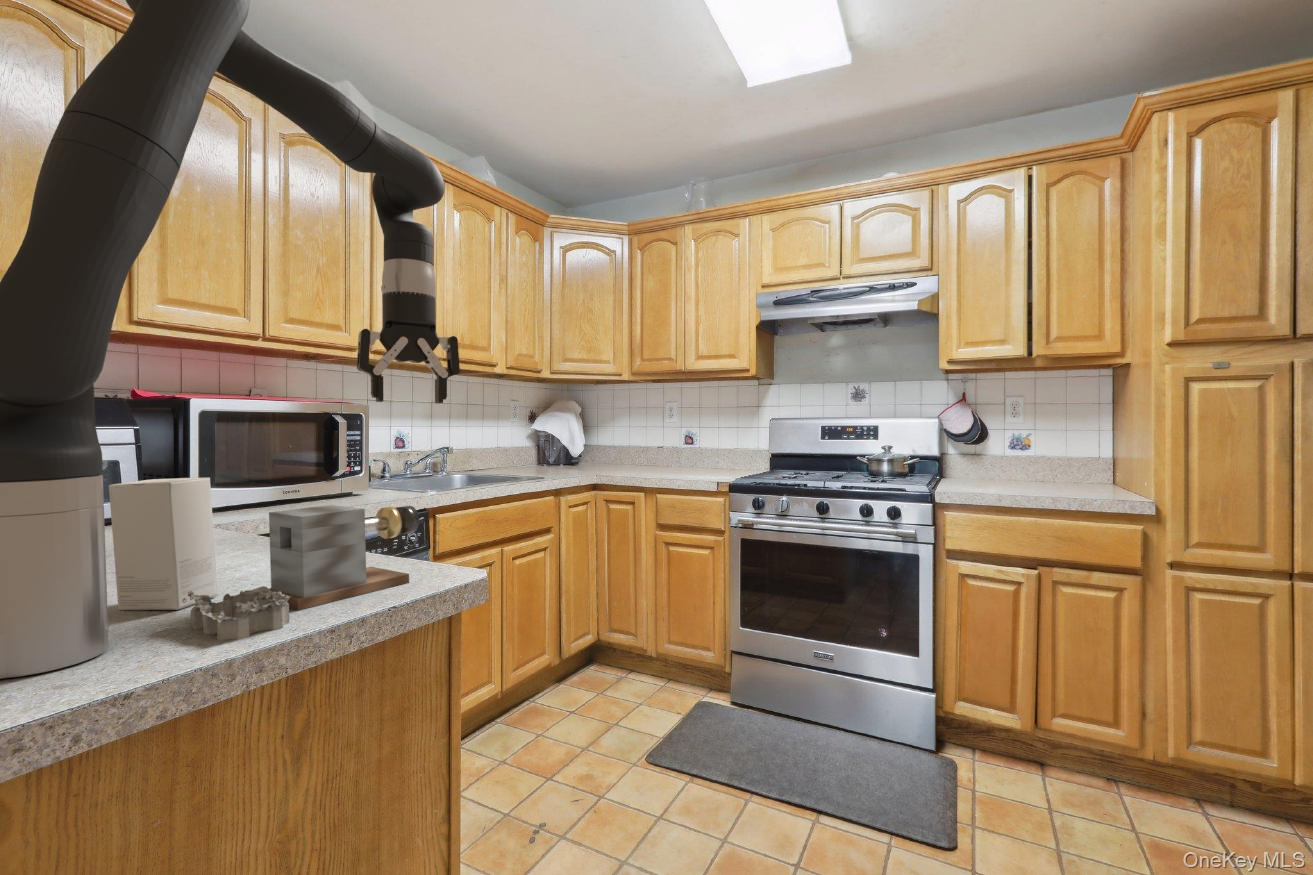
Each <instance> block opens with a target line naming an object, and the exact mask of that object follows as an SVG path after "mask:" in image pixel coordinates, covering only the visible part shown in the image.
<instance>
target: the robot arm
mask: <svg viewBox="0 0 1313 875" xmlns="http://www.w3.org/2000/svg"><path fill="white" fill-rule="evenodd" d="M250 1H251V0H125V2H126V4H127V5H128V6H129V8H130V10H131V11H132V12H133V13H134V15H133V18H132V20H131V21H130V23H129V26H128V27H127V29H126V31H125V32H124V33H123V35H122V36H121V37H120V38H119V40H118V41H117V42H116V43H115V45H114V46H113V47H112V48H111V49H110V51H108V52H107V54H105V56H104V57H103V58H102V59H101V60H100V61H99V63H98V64H97V65H96V66H95V68H94V69H93V70H92V71H91V72H90V74H89V75H88V76H87V77H86V79H85V80H84V81H83V82H82V84H81V85H80V86H79V88H78V89H76V92H75V93H74V94H73V96H72V97H71V99H70V101H69V102H68V104H67V106H66V107H65V109H64V111H63V114H62V116H61V117H60V120H59V122H58V124H57V126H56V128H55V131H54V133H53V135H52V138H51V140H50V143H49V144H48V147H47V148H46V152H45V154H44V158H43V161H42V164H41V167H40V170H39V174H38V176H37V180H36V185H35V189H34V194H33V199H32V203H31V210H30V215H29V219H28V221H29V222H28V224H27V229H26V232H25V235H24V237H23V240H22V241H21V245H20V247H19V248H18V251H17V253H16V255H15V256H14V258H13V260H12V261H11V264H10V265H9V266H8V268H7V270H6V271H5V273H4V275H3V276H2V278H1V279H0V680H1V679H8V678H16V677H24V676H28V675H29V676H30V675H36V674H40V673H46V672H50V671H54V670H55V671H56V670H59V669H63V668H66V667H69V666H73V665H77V664H80V663H83V662H86V661H88V660H91V659H93V658H96V657H98V656H100V655H101V654H103V653H105V652H106V651H107V650H108V649H109V647H110V645H109V643H110V642H109V632H110V627H109V626H110V624H109V619H108V618H109V616H108V615H109V614H108V613H109V612H108V592H107V591H108V589H107V588H108V586H107V584H108V583H107V560H106V529H105V527H106V526H105V506H104V505H105V502H104V501H105V497H104V475H103V474H104V472H103V466H104V465H103V451H102V447H101V445H100V441H99V437H98V432H97V426H96V425H97V424H96V411H95V408H96V406H95V390H94V389H95V387H94V385H95V383H96V381H97V380H98V379H99V377H100V375H101V373H102V371H103V369H104V366H105V365H104V364H105V360H106V356H107V351H108V346H109V342H110V337H111V333H112V329H113V324H114V320H115V316H116V313H117V310H118V305H119V302H120V299H121V295H122V291H123V289H124V285H125V283H126V282H125V281H126V279H127V278H128V274H129V272H130V271H131V270H132V267H133V265H134V263H135V262H136V260H137V259H138V256H139V255H140V253H141V251H142V250H143V248H144V247H145V245H146V244H147V242H148V240H149V237H151V234H152V232H153V230H154V229H155V227H156V225H157V222H158V221H159V218H160V216H161V213H162V211H163V210H164V207H165V206H166V203H167V201H168V200H169V197H170V194H171V192H172V189H173V186H174V184H175V182H176V179H177V177H178V174H179V171H180V170H181V167H182V163H183V161H184V157H185V154H186V152H187V149H188V146H189V143H190V140H191V139H192V138H191V137H192V135H193V132H194V130H195V128H196V125H197V121H198V119H199V116H200V113H201V111H202V108H203V105H204V102H205V98H206V95H207V93H208V90H209V87H210V85H211V82H212V80H213V78H214V76H215V74H216V73H218V74H220V75H222V76H223V77H224V78H226V79H228V80H230V81H231V82H233V84H235V85H237V86H239V87H240V88H242V89H244V90H245V91H247V92H248V93H249V94H251V95H253V96H254V97H255V98H257V99H259V100H260V101H262V103H264V104H266V105H267V106H270V107H271V108H272V109H273V110H275V111H277V113H279V114H281V115H283V116H284V117H285V118H287V119H289V121H291V122H292V123H293V124H295V125H296V126H297V127H299V128H300V129H302V130H303V131H304V132H305V133H306V134H308V135H310V137H311V138H312V139H314V140H315V141H316V142H318V143H319V144H320V145H321V146H322V147H324V148H325V149H326V150H328V152H330V153H332V154H333V155H334V157H336V158H337V159H339V160H340V161H341V162H342V163H343V164H345V165H346V166H347V167H348V168H351V170H353V171H356V172H358V173H365V174H367V173H368V174H369V173H370V174H374V176H373V178H372V179H373V180H372V184H371V193H372V200H373V203H374V206H375V210H376V213H377V214H376V215H377V217H378V221H379V224H380V227H381V228H380V229H381V231H382V234H383V266H382V268H383V269H382V273H381V274H382V275H381V277H382V278H381V287H380V288H381V297H382V298H381V304H382V307H381V308H382V310H381V311H382V312H381V313H382V316H381V319H382V320H381V321H382V326H381V330H380V332H379V331H372V330H369V329H368V328H364V329H361V330H360V331H359V333H358V342H357V357H356V369H357V370H358V371H359V372H363V373H365V374H367V375H369V377H370V395H371V398H373V399H375V402H376V403H382V402H384V376H383V375H382V373H383V372H384V371H385V370H386V369H387V367H388V366H390V364H391V363H392V362H393V361H394V360H395V361H396V362H397V363H406V362H407V363H408V362H409V363H412V364H421V363H424V364H425V366H427V368H428V369H430V371H431V372H432V373H433V374H434V376H435V378H436V379H434V403H435V404H443V403H444V400H447V397H448V379H449V378H450V377H453V376H457V375H459V374H460V372H461V369H460V356H459V355H460V354H459V342H458V341H459V340H458V338H457V336H456V335H452V336H447V337H445V336H444V337H443V336H439V335H438V333H437V301H436V300H437V299H436V298H437V293H436V292H437V291H436V290H437V289H436V288H437V287H436V285H437V284H436V275H435V268H434V267H435V265H434V264H435V262H434V261H435V260H434V257H435V254H434V253H435V252H434V248H435V247H434V244H435V243H434V237H433V233H432V231H431V229H430V228H429V227H428V226H426V225H424V224H422V223H419V222H415V218H414V211H416V210H421V209H424V208H429V207H432V206H435V205H436V204H438V203H439V202H440V201H441V200H442V199H443V197H444V194H445V190H446V189H445V181H444V178H443V176H442V173H441V172H440V170H439V168H438V167H437V165H436V164H435V163H434V162H433V160H431V159H430V158H429V157H428V156H427V155H425V154H424V153H423V152H421V151H420V150H418V149H417V148H415V147H413V146H412V145H411V144H409V143H407V142H405V141H404V140H401V139H400V138H399V137H397V136H395V135H393V134H391V133H390V132H388V131H386V130H384V129H383V128H381V127H380V126H379V125H378V124H377V123H376V122H375V121H374V120H373V119H371V118H370V116H368V115H367V114H366V113H365V112H364V111H363V110H362V109H361V108H359V106H357V105H356V104H355V103H354V102H353V101H352V100H351V99H349V97H347V96H346V95H345V94H343V92H341V91H339V90H338V89H337V88H335V87H334V86H332V85H330V84H329V83H327V82H326V81H324V80H323V79H321V78H319V77H317V76H315V75H313V74H312V73H310V72H307V71H305V70H303V69H302V68H299V67H297V66H296V65H294V64H292V63H291V62H289V61H286V60H285V59H283V58H282V57H280V56H278V55H276V54H274V52H272V51H270V50H269V49H267V48H266V47H265V46H262V44H260V43H258V42H257V40H255V39H253V38H252V37H251V36H250V35H248V34H247V33H246V32H245V31H244V30H243V29H242V28H243V26H244V24H245V23H246V21H247V19H248V15H249V11H250V4H251V2H250ZM377 340H379V342H380V344H381V345H382V346H383V347H384V350H386V351H385V352H384V354H382V355H381V357H380V358H379V359H378V361H377V362H376V363H375V364H374V365H373V364H370V351H371V350H370V349H371V347H372V346H374V345H375V344H376V341H377ZM439 345H440V346H441V349H442V350H443V351H444V352H445V353H446V367H447V368H445V367H444V366H443V364H442V362H441V360H440V359H439V358H438V356H437V355H436V353H435V352H434V351H435V350H436V349H437V347H438V346H439Z"/></svg>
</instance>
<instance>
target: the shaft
mask: <svg viewBox="0 0 1313 875" xmlns="http://www.w3.org/2000/svg"><path fill="white" fill-rule="evenodd" d="M376 512H377V513H376V516H375V517H370V518H365V535H366V534H372V533H378V535H379V537H380V538H382V539H384V540H387V539H392V538H396V537H398V536H402V535H406V534H412V533H415V532H416V531H417V530H418V528H419V524H420V516H419V513H418V511H417V509H416V508H415V507H414V506H412V505H405V506H397V507H394V506H387V507H381V508H380V509H378V510H377V511H376Z"/></svg>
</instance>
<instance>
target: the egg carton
mask: <svg viewBox="0 0 1313 875" xmlns="http://www.w3.org/2000/svg"><path fill="white" fill-rule="evenodd" d="M188 596H192V597H194V599H195V601H196V604H194V606H193V607H192V608H191V610H190V613H189V617H190V622H191V623H190V624H191V629H194V630H198V629H203V630H202V632H203V634H206V635H214V634H217V635H216V637H217V640H218V641H226V640H227V641H228V640H243V639H245V638H249V637H250V634H254V633H256V632H260V631H276V630H279V629H283V628H284V626H285V625H288V624H290V608H289V604H288V603H287V601H288V600H289V598H290V597H291V596H290V597H289V596H287V595H284V594H283V595H282V593H281V592H279V591H278V592H275V591H274V592H272V591H271V590H269V587H267V586H264V585H263V586H259V587H257V588H254V589H250V590H249V589H248V590H245V591H243V590H241V591H240V592H239V593H238V594H235V595H231V594H229V593H225V594H224V595H223V598H222V601H218V602H212V600H211V598H210V597H209V596H208V595H200V596H199V595H194V592H192V591H191V592H188Z"/></svg>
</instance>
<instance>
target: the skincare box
mask: <svg viewBox="0 0 1313 875" xmlns="http://www.w3.org/2000/svg"><path fill="white" fill-rule="evenodd" d="M211 490H212V488H211V477H179V478H157V479H156V478H153V479H145V480H137V481H130V482H122V483H120V482H119V483H114V484H109V485H108V491H109V492H108V493H109V494H108V495H109V505H110V507H109V508H110V515H111V516H110V517H111V529H112V530H111V531H112V542H113V543H112V545H113V555H114V569H115V582H116V584H115V585H116V592H117V593H116V596H117V609H118V611H149V610H151V611H153V610H156V611H158V610H161V611H162V610H165V611H167V610H168V611H169V610H174V611H176V610H181V609H185V608H188V607H190V606H193V605H194V606H195V605H196V601H195V599H194V597H192V596H188V592H191V591H192V592H194V595H199V596H200V595H208V596H209V597H210V599H212V598H214V597H217V596H218V594H219V588H218V577H217V575H218V574H217V573H218V572H217V560H216V547H215V544H216V543H215V532H214V519H213V518H214V517H213V504H212V491H211Z"/></svg>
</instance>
